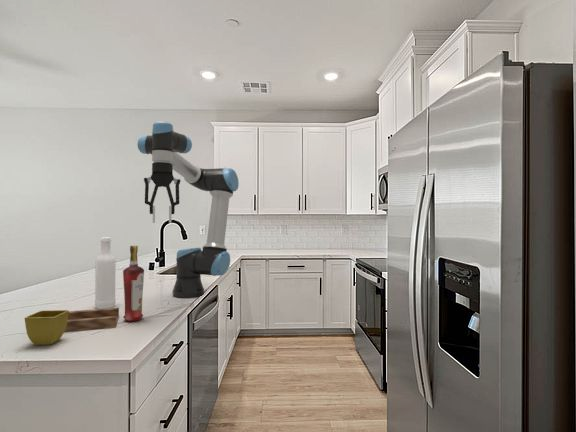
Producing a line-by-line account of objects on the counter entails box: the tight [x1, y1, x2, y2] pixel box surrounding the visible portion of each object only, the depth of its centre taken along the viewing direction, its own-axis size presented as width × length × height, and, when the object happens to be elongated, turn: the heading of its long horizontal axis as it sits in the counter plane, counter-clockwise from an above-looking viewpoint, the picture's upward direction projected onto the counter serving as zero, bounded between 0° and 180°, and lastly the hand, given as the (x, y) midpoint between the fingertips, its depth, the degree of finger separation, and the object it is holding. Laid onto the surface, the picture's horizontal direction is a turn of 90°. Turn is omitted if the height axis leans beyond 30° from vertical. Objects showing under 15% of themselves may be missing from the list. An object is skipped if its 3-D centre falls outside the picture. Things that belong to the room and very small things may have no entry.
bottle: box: [94, 236, 117, 309], centre depth 156 cm, size 8×8×30 cm
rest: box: [64, 307, 120, 333], centre depth 131 cm, size 25×15×3 cm, turn 111°
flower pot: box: [24, 309, 70, 346], centre depth 113 cm, size 9×9×9 cm
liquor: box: [122, 245, 145, 323], centre depth 137 cm, size 7×7×28 cm
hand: (162, 222), depth 141 cm, fingers open, 5 cm apart
